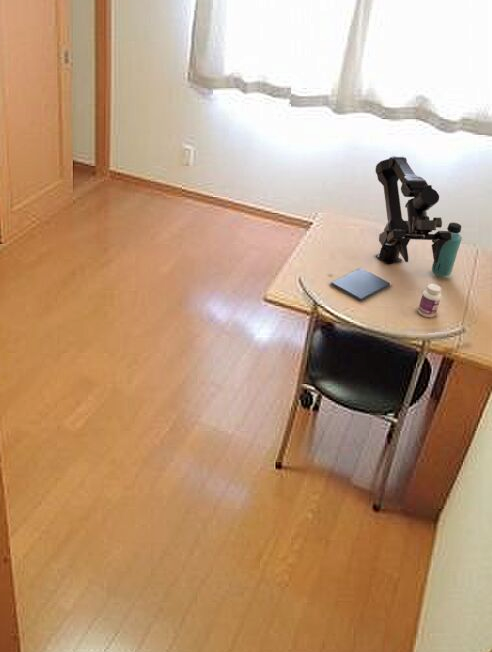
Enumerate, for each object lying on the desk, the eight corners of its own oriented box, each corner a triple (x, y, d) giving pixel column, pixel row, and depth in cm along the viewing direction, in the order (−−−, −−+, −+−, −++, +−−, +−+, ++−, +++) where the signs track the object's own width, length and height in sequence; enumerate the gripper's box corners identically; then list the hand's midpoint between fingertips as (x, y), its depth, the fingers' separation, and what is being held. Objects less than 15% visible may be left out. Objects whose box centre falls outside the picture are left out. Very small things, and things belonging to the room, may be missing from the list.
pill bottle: (433, 319, 203) (441, 294, 198) (415, 314, 205) (423, 288, 200) (436, 311, 207) (445, 286, 202) (419, 306, 209) (427, 280, 204)
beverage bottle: (452, 275, 226) (469, 224, 215) (445, 282, 221) (461, 231, 211) (434, 268, 229) (449, 217, 219) (426, 275, 225) (441, 224, 215)
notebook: (360, 270, 227) (360, 267, 226) (389, 286, 219) (390, 283, 218) (330, 285, 218) (331, 282, 218) (360, 301, 210) (361, 298, 210)
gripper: (398, 206, 203) (402, 254, 199) (457, 208, 203) (463, 256, 199) (384, 218, 214) (388, 264, 209) (441, 220, 214) (446, 266, 209)
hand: (421, 262), depth 206 cm, fingers open, 9 cm apart
